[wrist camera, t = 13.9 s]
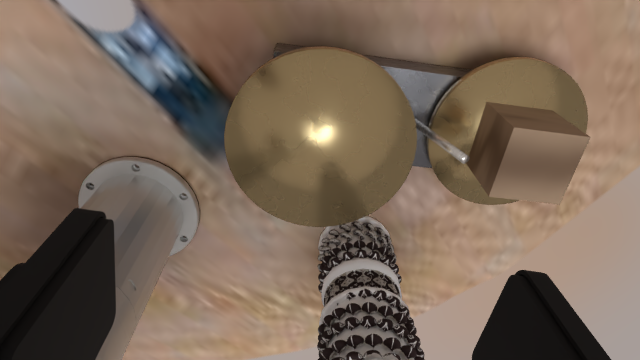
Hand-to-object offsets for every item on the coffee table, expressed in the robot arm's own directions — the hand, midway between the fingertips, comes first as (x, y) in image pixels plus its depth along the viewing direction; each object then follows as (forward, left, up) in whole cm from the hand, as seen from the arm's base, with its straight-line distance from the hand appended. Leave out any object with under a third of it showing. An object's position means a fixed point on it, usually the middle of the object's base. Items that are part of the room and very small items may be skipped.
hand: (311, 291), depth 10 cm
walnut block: (-6, -18, -29) cm, 35 cm away
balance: (-6, -10, -34) cm, 36 cm away
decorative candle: (-23, -8, -34) cm, 42 cm away
